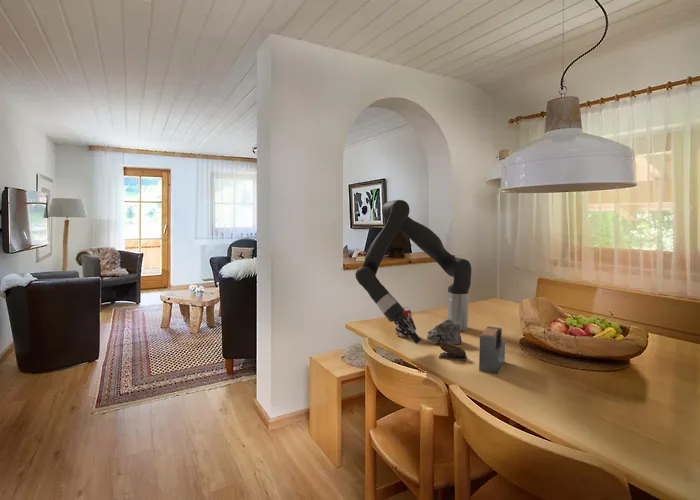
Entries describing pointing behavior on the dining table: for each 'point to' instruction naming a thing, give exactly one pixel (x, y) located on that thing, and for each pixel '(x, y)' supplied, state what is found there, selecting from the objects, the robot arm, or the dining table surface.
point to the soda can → (409, 315)
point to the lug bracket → (491, 350)
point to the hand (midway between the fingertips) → (419, 341)
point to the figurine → (451, 351)
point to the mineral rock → (446, 332)
